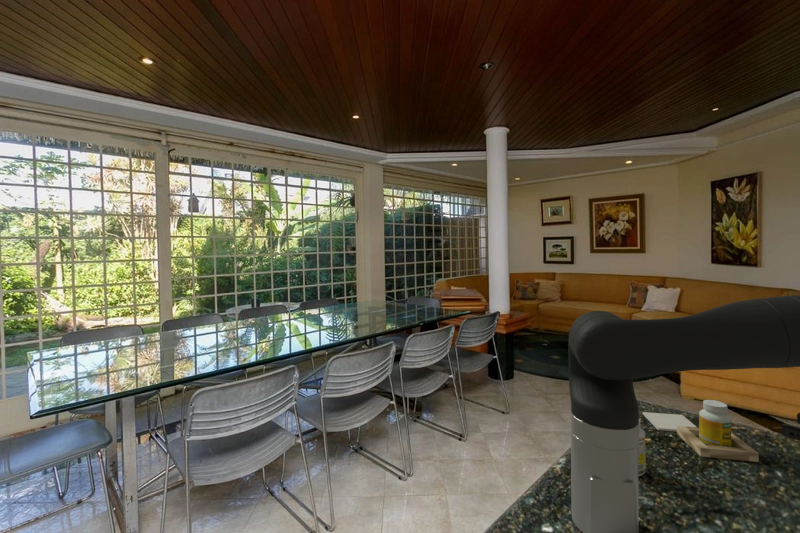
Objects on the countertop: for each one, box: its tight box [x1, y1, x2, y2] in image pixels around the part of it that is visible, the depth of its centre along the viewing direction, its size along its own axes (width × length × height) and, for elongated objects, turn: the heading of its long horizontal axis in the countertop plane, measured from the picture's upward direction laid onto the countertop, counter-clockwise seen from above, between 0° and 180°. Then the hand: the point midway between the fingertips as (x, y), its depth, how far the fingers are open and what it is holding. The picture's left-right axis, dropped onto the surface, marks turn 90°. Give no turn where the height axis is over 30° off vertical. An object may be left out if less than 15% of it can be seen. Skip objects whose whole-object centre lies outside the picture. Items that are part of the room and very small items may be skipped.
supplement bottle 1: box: [639, 418, 646, 477], centre depth 72 cm, size 6×6×10 cm
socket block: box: [676, 426, 760, 463], centre depth 80 cm, size 10×10×2 cm
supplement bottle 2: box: [698, 399, 733, 447], centre depth 80 cm, size 5×5×10 cm
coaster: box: [642, 411, 697, 433], centre depth 91 cm, size 9×9×1 cm
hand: (790, 423), depth 70 cm, fingers open, 8 cm apart
